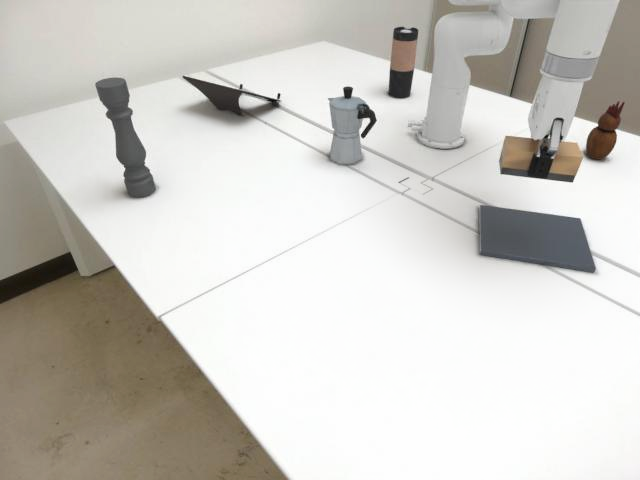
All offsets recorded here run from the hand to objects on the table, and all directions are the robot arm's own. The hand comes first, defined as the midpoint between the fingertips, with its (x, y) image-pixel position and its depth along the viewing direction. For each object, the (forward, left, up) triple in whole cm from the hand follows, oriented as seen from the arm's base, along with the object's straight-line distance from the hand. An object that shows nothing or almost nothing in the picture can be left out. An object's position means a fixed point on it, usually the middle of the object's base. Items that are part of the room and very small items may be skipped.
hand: (535, 166), depth 81 cm
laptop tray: (-78, +47, -16) cm, 93 cm away
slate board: (+4, 0, -16) cm, 16 cm away
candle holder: (-81, -4, -16) cm, 83 cm away
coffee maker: (-38, +23, -16) cm, 48 cm away
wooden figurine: (+23, +40, -16) cm, 49 cm away
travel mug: (-31, +70, -16) cm, 79 cm away
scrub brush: (0, 0, -1) cm, 1 cm away
